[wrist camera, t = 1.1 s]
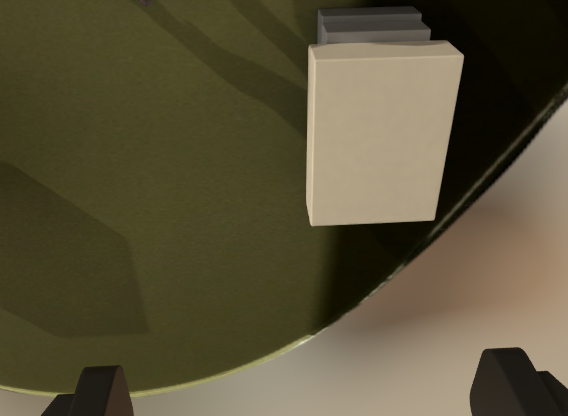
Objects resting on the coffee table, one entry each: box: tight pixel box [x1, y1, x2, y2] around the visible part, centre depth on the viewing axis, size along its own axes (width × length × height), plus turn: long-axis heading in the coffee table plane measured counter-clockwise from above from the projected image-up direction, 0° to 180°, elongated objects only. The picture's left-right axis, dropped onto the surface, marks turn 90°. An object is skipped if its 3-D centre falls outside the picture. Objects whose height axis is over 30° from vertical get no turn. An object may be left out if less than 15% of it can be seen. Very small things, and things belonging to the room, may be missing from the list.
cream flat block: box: [306, 40, 464, 226], centre depth 23 cm, size 8×6×2 cm
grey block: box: [317, 6, 431, 44], centre depth 26 cm, size 10×4×3 cm, turn 1°
